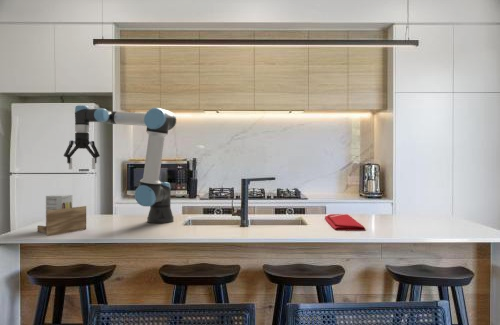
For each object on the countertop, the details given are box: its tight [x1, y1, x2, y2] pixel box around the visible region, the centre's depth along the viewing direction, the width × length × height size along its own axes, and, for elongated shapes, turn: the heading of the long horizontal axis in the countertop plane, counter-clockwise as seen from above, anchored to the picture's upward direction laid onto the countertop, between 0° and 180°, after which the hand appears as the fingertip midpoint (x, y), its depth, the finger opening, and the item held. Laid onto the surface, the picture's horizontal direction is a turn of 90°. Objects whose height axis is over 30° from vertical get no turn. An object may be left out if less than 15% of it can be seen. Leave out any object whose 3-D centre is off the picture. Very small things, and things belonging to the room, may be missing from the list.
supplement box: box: [45, 194, 73, 226], centre depth 220 cm, size 10×9×17 cm
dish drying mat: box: [324, 213, 366, 232], centre depth 238 cm, size 16×41×4 cm, turn 178°
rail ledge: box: [37, 205, 87, 237], centre depth 217 cm, size 15×22×12 cm
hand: (82, 169), depth 248 cm, fingers open, 13 cm apart
